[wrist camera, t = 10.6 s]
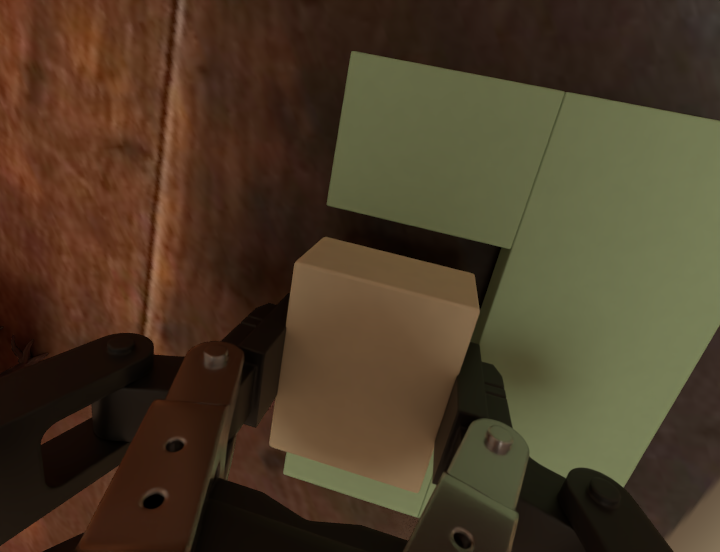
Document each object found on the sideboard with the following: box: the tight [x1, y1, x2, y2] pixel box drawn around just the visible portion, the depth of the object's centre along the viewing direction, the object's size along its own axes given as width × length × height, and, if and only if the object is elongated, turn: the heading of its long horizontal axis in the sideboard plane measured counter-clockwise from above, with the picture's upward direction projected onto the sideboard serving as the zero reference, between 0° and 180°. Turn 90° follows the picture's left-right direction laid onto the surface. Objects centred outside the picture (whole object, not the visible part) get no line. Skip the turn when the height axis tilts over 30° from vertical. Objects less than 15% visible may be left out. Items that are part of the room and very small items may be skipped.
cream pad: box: [269, 237, 480, 493], centre depth 12 cm, size 6×5×3 cm
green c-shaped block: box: [283, 51, 720, 518], centre depth 14 cm, size 16×12×2 cm
